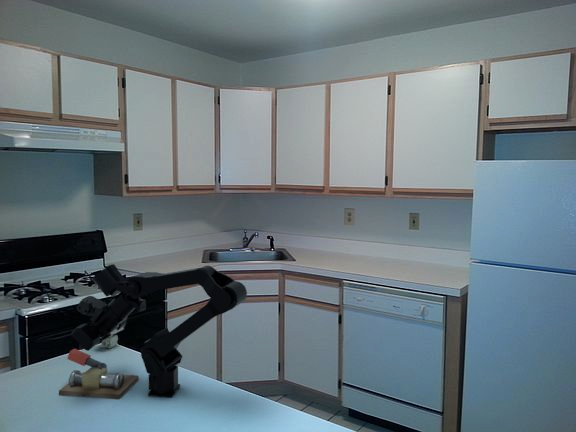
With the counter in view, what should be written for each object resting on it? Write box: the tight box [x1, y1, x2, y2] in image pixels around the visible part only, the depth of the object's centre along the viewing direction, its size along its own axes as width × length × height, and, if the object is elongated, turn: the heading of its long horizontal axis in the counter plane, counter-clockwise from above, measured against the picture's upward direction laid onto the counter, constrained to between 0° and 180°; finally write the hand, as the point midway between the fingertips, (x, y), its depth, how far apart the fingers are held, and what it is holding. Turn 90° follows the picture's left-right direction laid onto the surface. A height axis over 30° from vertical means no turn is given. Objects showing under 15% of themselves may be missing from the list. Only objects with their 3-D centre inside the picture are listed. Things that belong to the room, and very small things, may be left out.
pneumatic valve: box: [101, 318, 128, 349], centre depth 147 cm, size 6×12×12 cm, turn 161°
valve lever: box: [66, 348, 108, 369], centre depth 120 cm, size 2×2×11 cm
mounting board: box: [58, 371, 140, 400], centre depth 118 cm, size 16×11×1 cm
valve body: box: [68, 367, 125, 390], centre depth 116 cm, size 13×4×4 cm, turn 84°
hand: (80, 348), depth 120 cm, fingers closed
